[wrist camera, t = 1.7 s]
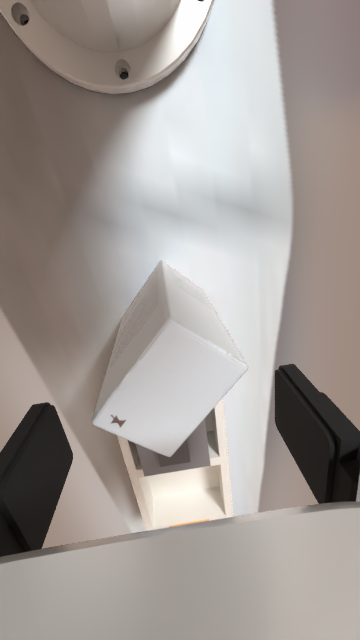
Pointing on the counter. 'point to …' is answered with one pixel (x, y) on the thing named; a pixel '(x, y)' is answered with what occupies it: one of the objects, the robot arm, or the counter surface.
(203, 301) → the skincare box
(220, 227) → the counter surface
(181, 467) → the grey square block
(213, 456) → the cream rectangular tray
